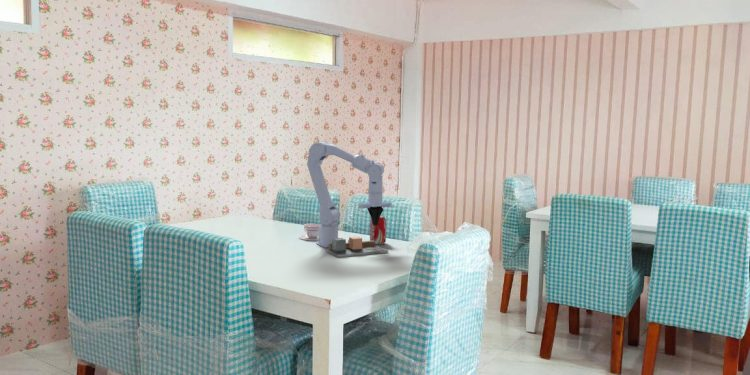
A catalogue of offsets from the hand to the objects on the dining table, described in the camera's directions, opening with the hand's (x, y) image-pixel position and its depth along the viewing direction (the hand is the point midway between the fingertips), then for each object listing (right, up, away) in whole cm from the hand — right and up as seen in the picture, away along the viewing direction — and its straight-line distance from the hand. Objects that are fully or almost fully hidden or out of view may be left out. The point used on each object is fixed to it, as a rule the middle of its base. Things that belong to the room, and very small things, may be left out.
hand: (375, 224), depth 265 cm
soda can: (+1, -9, +12) cm, 15 cm away
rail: (-9, -10, -3) cm, 14 cm away
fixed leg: (-15, -10, -9) cm, 20 cm away
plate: (-7, -11, -7) cm, 15 cm away
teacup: (-28, -8, +22) cm, 37 cm away
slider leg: (-9, -9, -6) cm, 14 cm away
